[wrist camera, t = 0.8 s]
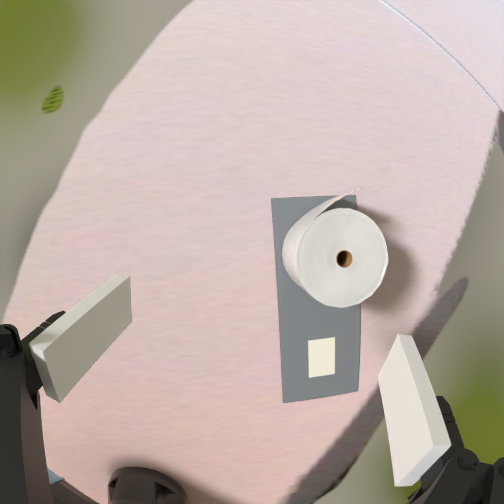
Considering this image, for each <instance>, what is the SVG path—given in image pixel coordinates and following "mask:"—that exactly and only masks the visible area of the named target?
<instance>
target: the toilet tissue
mask: <svg viewBox="0 0 504 504" xmlns="http://www.w3.org/2000/svg"><path fill="white" fill-rule="evenodd" d="M364 188H365V187H364ZM360 189H362V188H360ZM358 190H359V189H358ZM355 191H356V190H355ZM352 192H353V191H352ZM349 193H351V192H348V193H345V194H342V195H340V196H337V197H334V198H332V199H329V200H327V201H325V202H323V203H322V204H320V205H318V206H317V207H315V208H313V209H312V210H310V211H309V212H307V213H306V214H305V215H304V216H303V217H301V218H300V219H299V220H298V221H297V222H296V223H295V224H294V225H293V226H292V227H291V228H290V230H289V231H288V233H287V234H286V237H285V239H284V242H283V247H282V259H283V265H284V267H285V269H286V272H287V273H288V275H289V276H290V278H291V279H292V280H293V281H294V282H295V283H296V284H297V285H298V286H300V287H301V288H302V289H303V290H305V291H306V292H307V293H308V294H309V295H310V296H311V297H313V298H314V299H316V300H317V301H319V302H321V303H323V304H324V305H327V306H332V307H340V308H344V307H349V306H352V305H356V304H359V303H361V302H363V301H364V300H365V299H367V298H368V297H370V296H372V294H373V293H374V291H375V290H376V289H377V288H378V287H379V286H380V284H381V282H382V280H383V277H384V275H385V272H386V267H387V265H388V252H387V245H386V242H385V239H384V236H383V234H382V232H381V230H380V228H379V227H378V226H377V225H376V223H375V222H374V221H373V220H372V219H370V218H369V217H368V216H367V215H365V214H363V213H361V212H359V211H356V210H352V209H350V208H337V209H332V210H328V211H324V210H325V209H326V208H327V207H329V206H330V205H331V204H333V203H334V202H335V201H337V200H340V199H341V198H342V197H344V196H346V195H347V194H349Z"/></svg>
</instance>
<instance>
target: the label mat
mask: <svg viewBox="0 0 504 504" xmlns="http://www.w3.org/2000/svg"><path fill="white" fill-rule="evenodd" d="M334 197H337V196H315V197H293V198H274V199H271V205H272V218H273V232H274V247H275V262H276V278H277V294H278V311H279V329H280V349H281V370H282V392H283V403H289V402H296V401H304V400H310V399H317V398H323V397H329V396H335V395H340V394H346V393H351V392H356V391H358V377H359V356H360V303H359V304H356V305H352V306H349V307H344V308H340V307H332V306H327V305H324V304H323V303H321V302H319V301H317V300H316V299H314V298H313V297H311V296H310V295H309V294H308V293H307V292H306V291H305V290H303V289H302V288H301V287H300V286H298V285H297V284H296V283H295V282H294V281H293V280H292V279H291V278H290V276H289V275H288V273H287V272H286V269H285V267H284V265H283V259H282V247H283V242H284V239H285V237H286V234H287V233H288V231H289V230H290V228H291V227H292V226H293V225H294V224H295V223H296V222H297V221H298V220H299V219H300V218H301V217H303V216H304V215H305V214H306V213H307V212H309V211H310V210H312V209H313V208H315V207H317V206H318V205H320V204H322V203H323V202H325V201H327V200H329V199H332V198H334ZM337 208H350V209H352V210H356V211H357V209H356V197H355V195H346V196H344V197H342V198H341V199H340V200H337V201H335V202H334V203H333V204H331V205H330V206H329V207H327V208H326V209H325V210H324V211H328V210H332V209H337Z"/></svg>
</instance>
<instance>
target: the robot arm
mask: <svg viewBox="0 0 504 504" xmlns="http://www.w3.org/2000/svg"><path fill="white" fill-rule="evenodd" d="M131 322H132V313H131V289H130V276H129V275H126V274H122V273H118V272H117V273H116V274H115V275H113V276H112V277H111V278H109V279H108V280H107V281H105V282H104V283H103V284H101V285H100V286H99V287H98V288H96V289H95V290H94V291H92V292H91V293H90V294H89V295H87V296H86V297H85V298H84V299H82V300H81V301H80V302H78V303H77V304H76V305H75V306H73V307H72V308H71V309H70V310H69V311H67V312H65V311H61V312H58V313H56V314H53V315H52V316H51V317H49V318H48V319H47V320H46V321H45V322H43V323H42V324H41V325H40V326H39V327H37V328H36V329H35V330H33V331H32V332H31V333H30V334H28V335H27V336H26V337H25V338H24V339H22V340H20V337H19V333H18V330H17V328H16V327H15V326H13V325H11V324H2V325H0V504H99V503H97V502H96V501H94V500H93V499H91V498H90V497H88V496H86V495H85V494H83V493H82V492H81V491H79V490H78V489H76V488H75V487H73V486H72V485H71V484H69V483H68V482H66V481H65V479H64V478H63V477H59V476H58V475H57V474H55V473H54V472H52V471H51V470H50V469H48V468H47V464H46V457H45V450H44V442H43V433H42V422H41V407H40V394H39V391H38V390H39V389H40V388H41V387H42V386H43V388H44V390H45V393H46V395H47V396H49V397H51V398H52V399H54V400H56V401H58V402H59V403H60V402H61V401H62V400H63V399H64V398H65V396H66V395H67V394H68V393H69V392H70V391H71V389H72V388H73V387H74V386H75V385H76V384H77V382H78V381H79V380H80V379H81V378H82V377H83V376H84V374H85V373H86V372H87V371H88V370H89V369H90V368H91V366H92V365H93V364H94V363H95V362H96V361H97V360H98V359H99V357H100V356H101V355H102V354H103V353H104V352H105V351H106V350H107V349H108V347H109V346H110V345H111V344H112V343H113V342H114V341H115V340H116V339H117V337H118V336H119V335H120V334H121V333H122V332H123V331H124V330H125V329H126V328H127V327H128V325H129V324H130V323H131ZM378 381H379V386H380V391H381V396H382V402H383V407H384V413H385V418H386V424H387V430H388V436H389V443H390V450H391V457H392V465H393V473H394V482H395V486H412V485H413V484H414V483H415V482H416V481H418V480H419V479H420V480H421V487H419V488H418V489H417V490H416V491H415V492H414V493H413V494H411V495H410V496H409V497H408V499H410V500H409V502H408V503H407V504H504V457H502V458H500V459H498V460H497V461H496V462H495V463H494V464H493V465H491V464H486V463H482V462H479V459H478V458H477V456H476V454H474V453H473V452H472V451H470V450H468V449H465V448H464V445H463V442H462V439H461V436H460V433H459V430H458V427H457V424H456V423H455V419H454V416H453V413H452V410H451V408H450V405H449V404H448V402H447V401H446V400H445V399H444V397H443V396H435V394H434V391H433V388H432V385H431V383H430V380H429V377H428V375H427V372H426V370H425V367H424V364H423V362H422V359H421V357H420V354H419V352H418V350H417V347H416V345H415V342H414V340H413V338H412V336H410V335H403V334H398V335H397V337H396V339H395V341H394V344H393V346H392V348H391V350H390V352H389V355H388V357H387V359H386V361H385V363H384V365H383V367H382V369H381V371H380V373H379V375H378ZM186 503H187V497H186V494H185V492H184V491H183V489H182V488H181V487H180V486H179V485H178V484H177V483H176V482H175V481H173V480H172V479H170V478H169V477H167V476H165V475H163V474H161V473H158V472H156V471H153V470H149V469H145V468H139V467H126V468H122V469H119V470H117V471H116V472H114V473H113V475H112V476H111V479H110V481H109V483H108V504H186Z"/></svg>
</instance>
